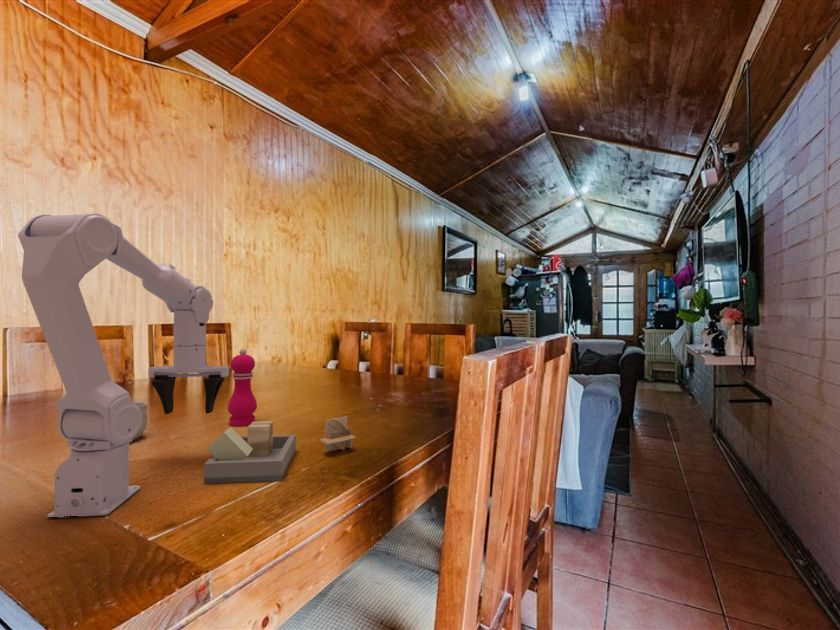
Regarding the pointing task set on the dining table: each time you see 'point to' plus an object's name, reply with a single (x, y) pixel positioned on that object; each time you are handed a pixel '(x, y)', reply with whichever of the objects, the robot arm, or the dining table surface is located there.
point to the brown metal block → (260, 438)
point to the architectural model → (337, 434)
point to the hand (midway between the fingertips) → (189, 412)
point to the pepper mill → (242, 391)
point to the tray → (253, 464)
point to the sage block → (230, 447)
